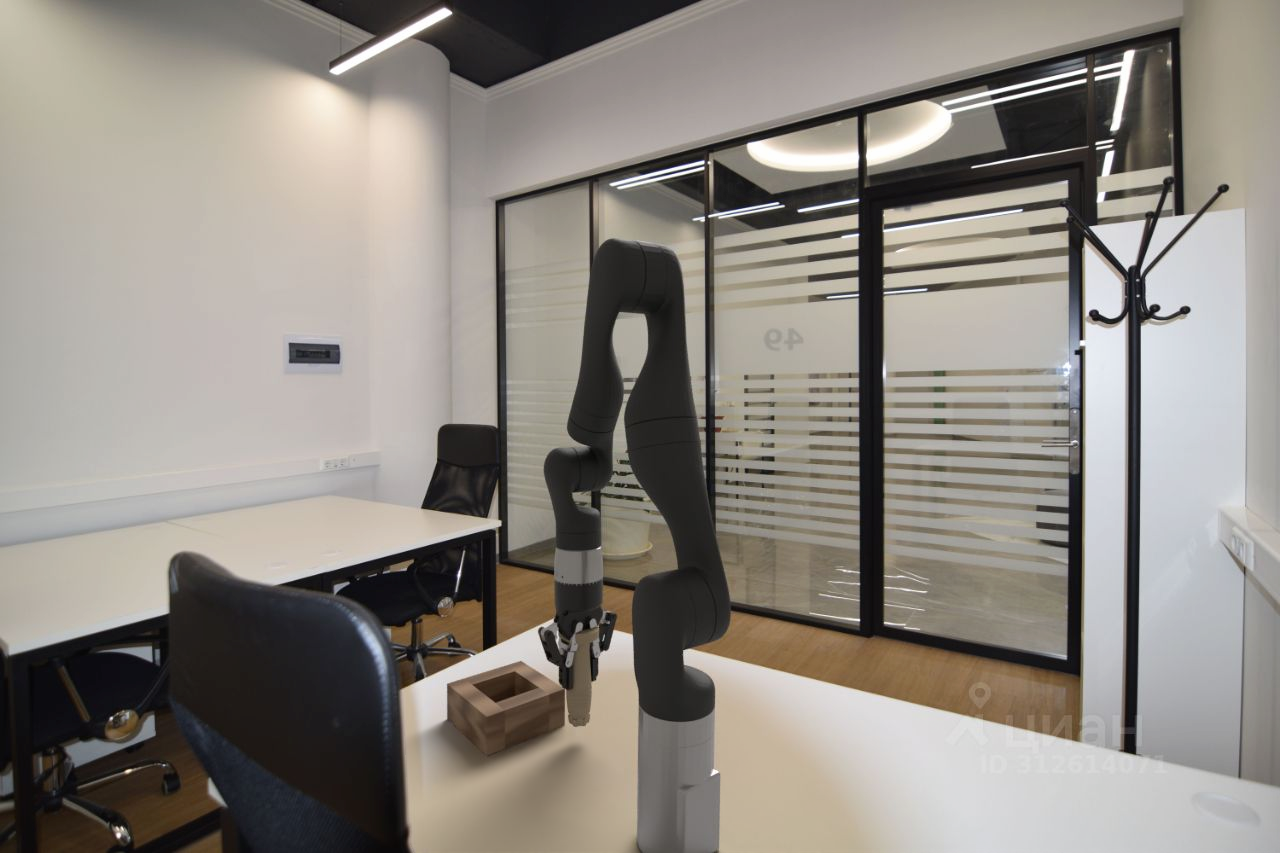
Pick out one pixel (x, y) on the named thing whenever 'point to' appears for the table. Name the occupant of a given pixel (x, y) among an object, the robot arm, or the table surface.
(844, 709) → the table surface
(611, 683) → the table surface
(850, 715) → the table surface
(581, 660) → the handle
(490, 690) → the wooden block
